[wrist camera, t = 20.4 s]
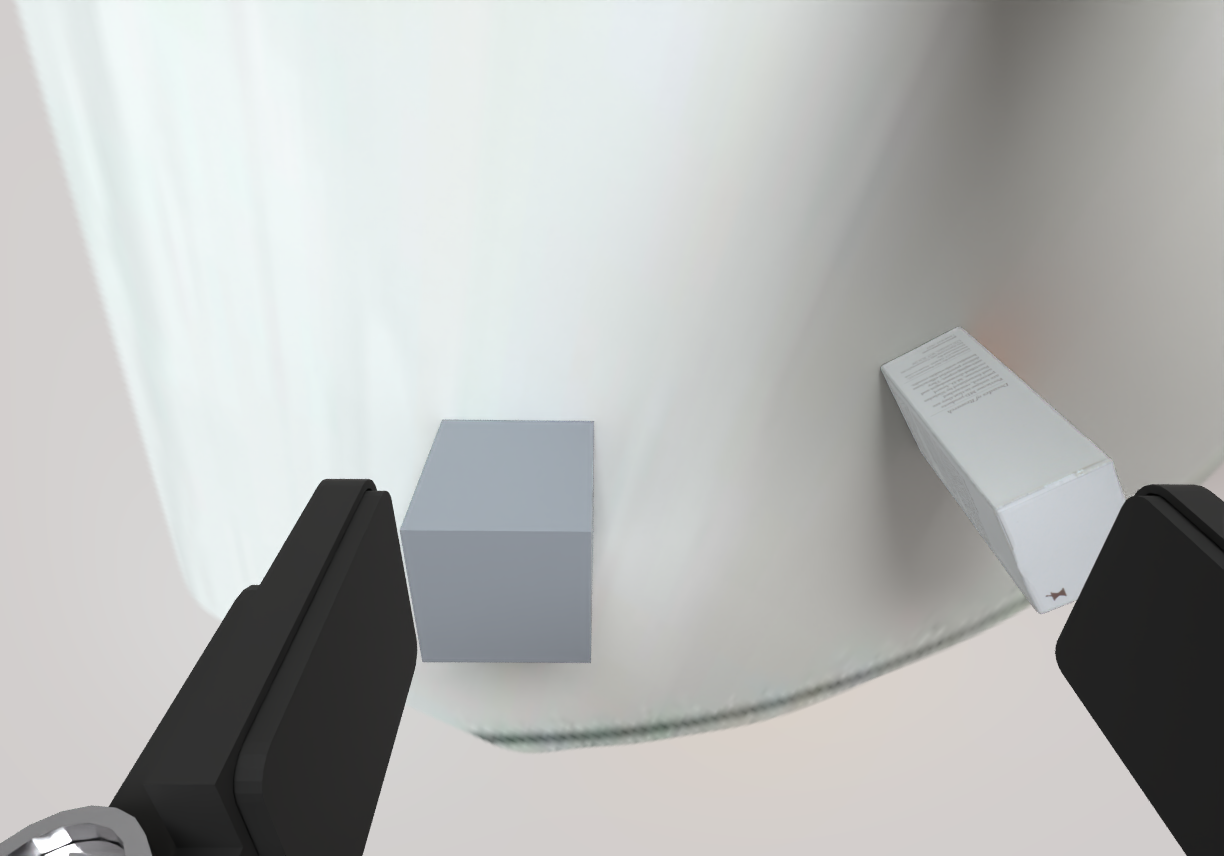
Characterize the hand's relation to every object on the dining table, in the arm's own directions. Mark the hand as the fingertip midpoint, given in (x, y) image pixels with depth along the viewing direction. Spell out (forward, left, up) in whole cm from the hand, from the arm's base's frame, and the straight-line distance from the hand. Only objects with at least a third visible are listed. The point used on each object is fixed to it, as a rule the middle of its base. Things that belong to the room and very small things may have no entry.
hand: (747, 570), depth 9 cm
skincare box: (-15, +10, -24) cm, 30 cm away
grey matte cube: (+6, +16, -24) cm, 30 cm away
